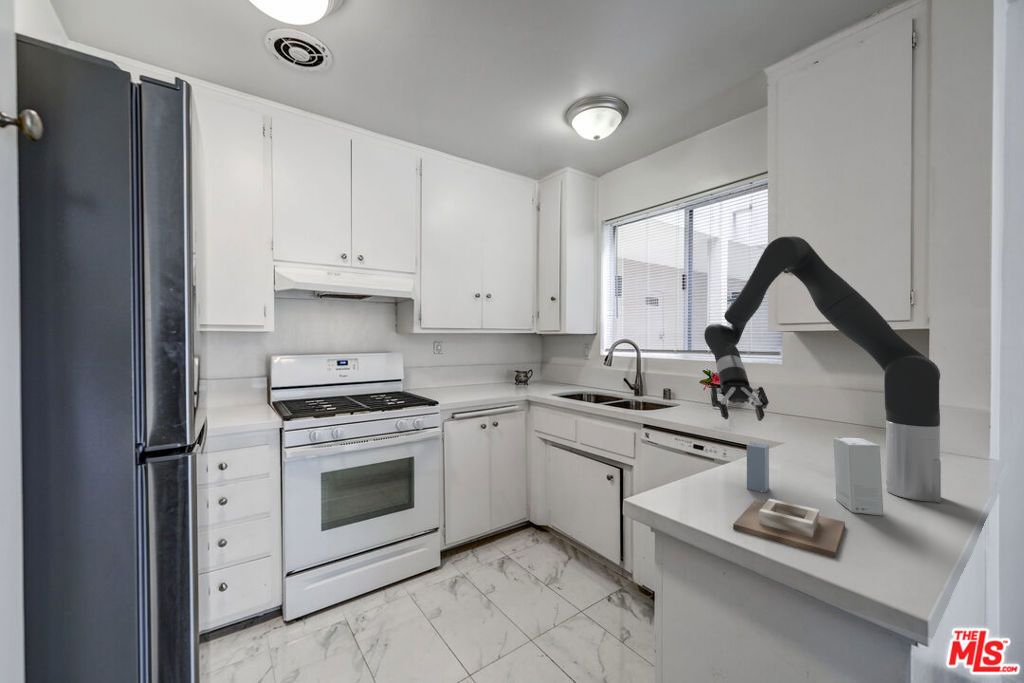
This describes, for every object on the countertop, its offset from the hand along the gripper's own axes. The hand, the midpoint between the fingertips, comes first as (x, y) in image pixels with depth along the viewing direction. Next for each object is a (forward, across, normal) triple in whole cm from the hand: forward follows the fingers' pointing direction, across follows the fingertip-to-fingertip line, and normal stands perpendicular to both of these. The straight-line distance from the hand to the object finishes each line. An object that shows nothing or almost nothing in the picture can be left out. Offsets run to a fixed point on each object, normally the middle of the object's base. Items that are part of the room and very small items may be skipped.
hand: (743, 418), depth 115 cm
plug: (+19, 0, +3) cm, 19 cm away
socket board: (+35, -1, -13) cm, 37 cm away
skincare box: (+25, +17, -2) cm, 30 cm away
